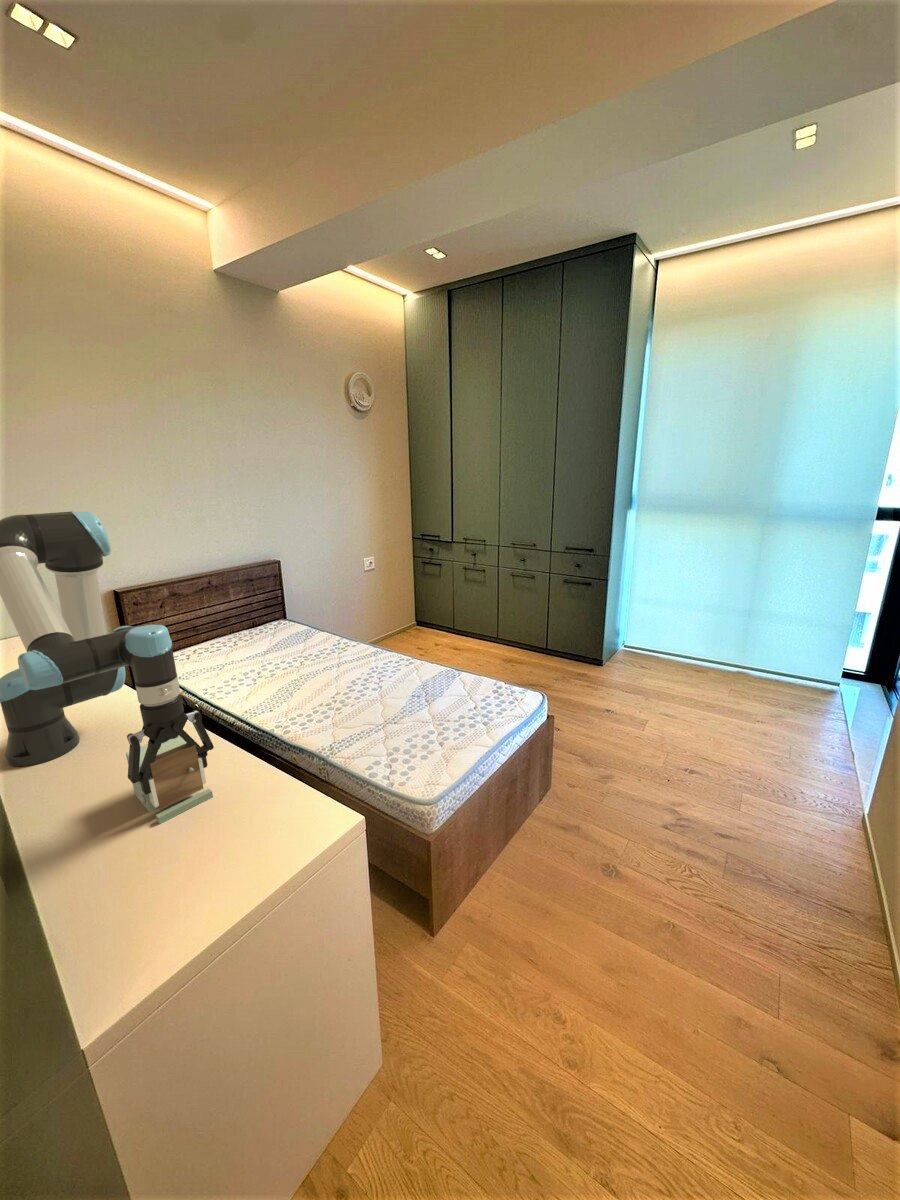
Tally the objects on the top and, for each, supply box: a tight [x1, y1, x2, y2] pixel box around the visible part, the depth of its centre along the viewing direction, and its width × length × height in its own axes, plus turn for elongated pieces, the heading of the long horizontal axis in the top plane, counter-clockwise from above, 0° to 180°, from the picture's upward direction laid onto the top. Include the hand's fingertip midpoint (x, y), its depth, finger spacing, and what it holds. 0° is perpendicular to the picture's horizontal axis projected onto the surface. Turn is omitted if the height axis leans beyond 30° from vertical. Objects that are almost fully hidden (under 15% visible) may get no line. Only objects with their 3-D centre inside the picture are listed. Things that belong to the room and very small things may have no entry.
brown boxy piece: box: [150, 743, 204, 810], centre depth 102 cm, size 4×9×11 cm, turn 140°
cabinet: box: [125, 736, 214, 825], centre depth 105 cm, size 15×12×11 cm
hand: (179, 792), depth 103 cm, fingers closed on brown boxy piece, 9 cm apart
